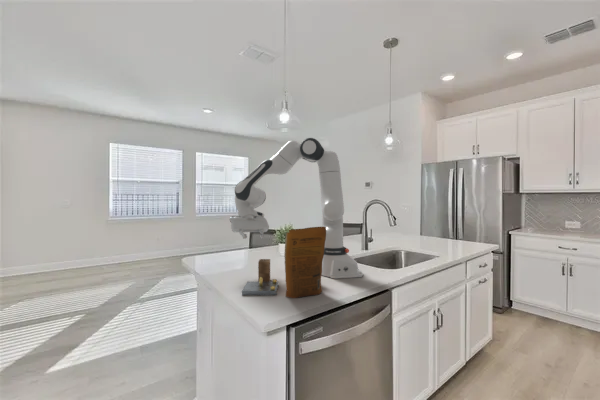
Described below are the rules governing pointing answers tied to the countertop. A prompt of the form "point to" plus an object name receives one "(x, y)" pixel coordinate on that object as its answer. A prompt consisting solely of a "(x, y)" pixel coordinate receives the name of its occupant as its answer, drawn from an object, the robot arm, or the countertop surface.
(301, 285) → the pancake mix bag
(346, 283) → the countertop surface
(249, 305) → the countertop surface
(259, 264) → the brown wooden block
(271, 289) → the pin plate
